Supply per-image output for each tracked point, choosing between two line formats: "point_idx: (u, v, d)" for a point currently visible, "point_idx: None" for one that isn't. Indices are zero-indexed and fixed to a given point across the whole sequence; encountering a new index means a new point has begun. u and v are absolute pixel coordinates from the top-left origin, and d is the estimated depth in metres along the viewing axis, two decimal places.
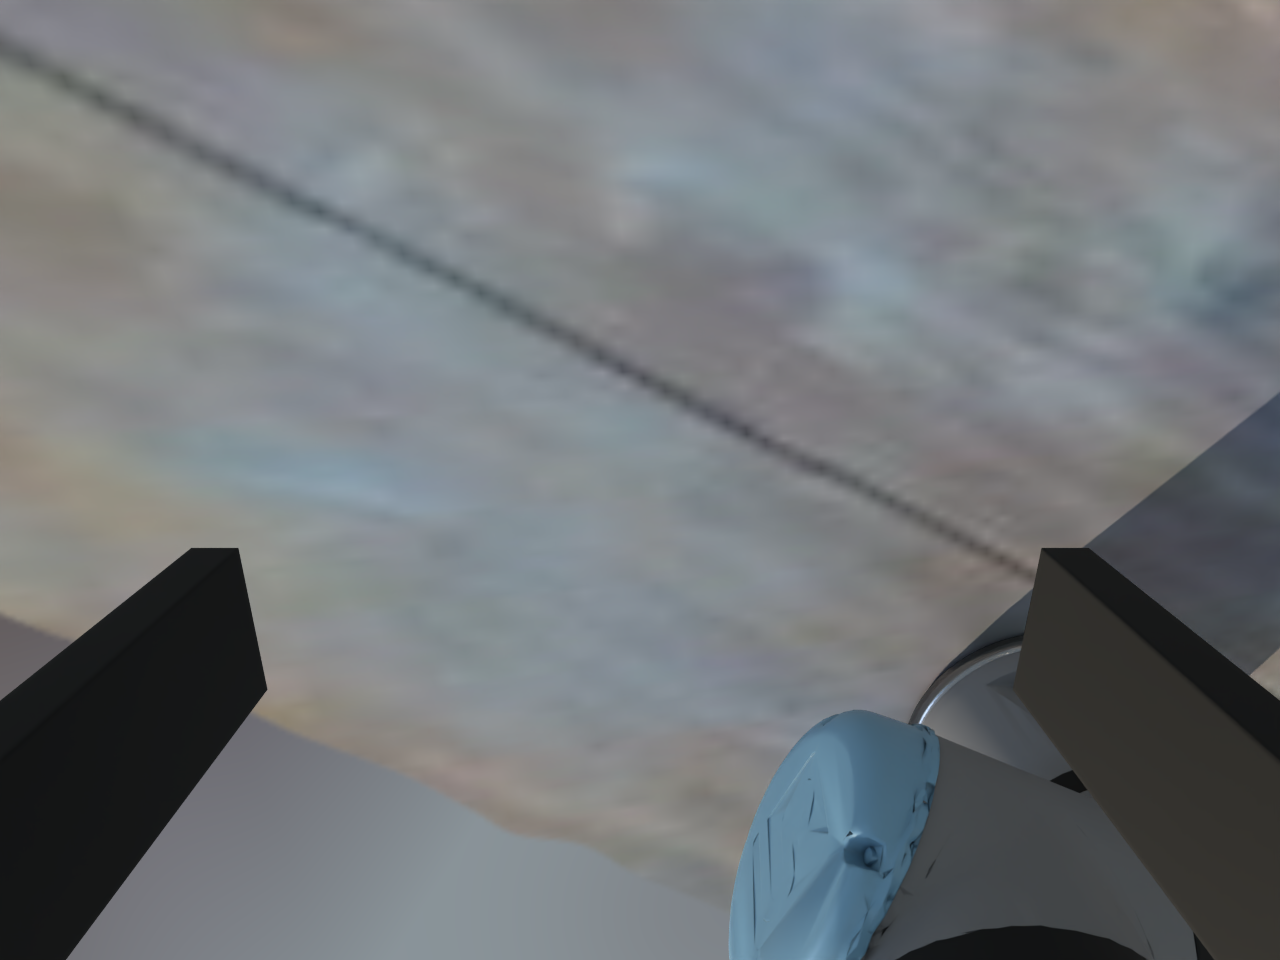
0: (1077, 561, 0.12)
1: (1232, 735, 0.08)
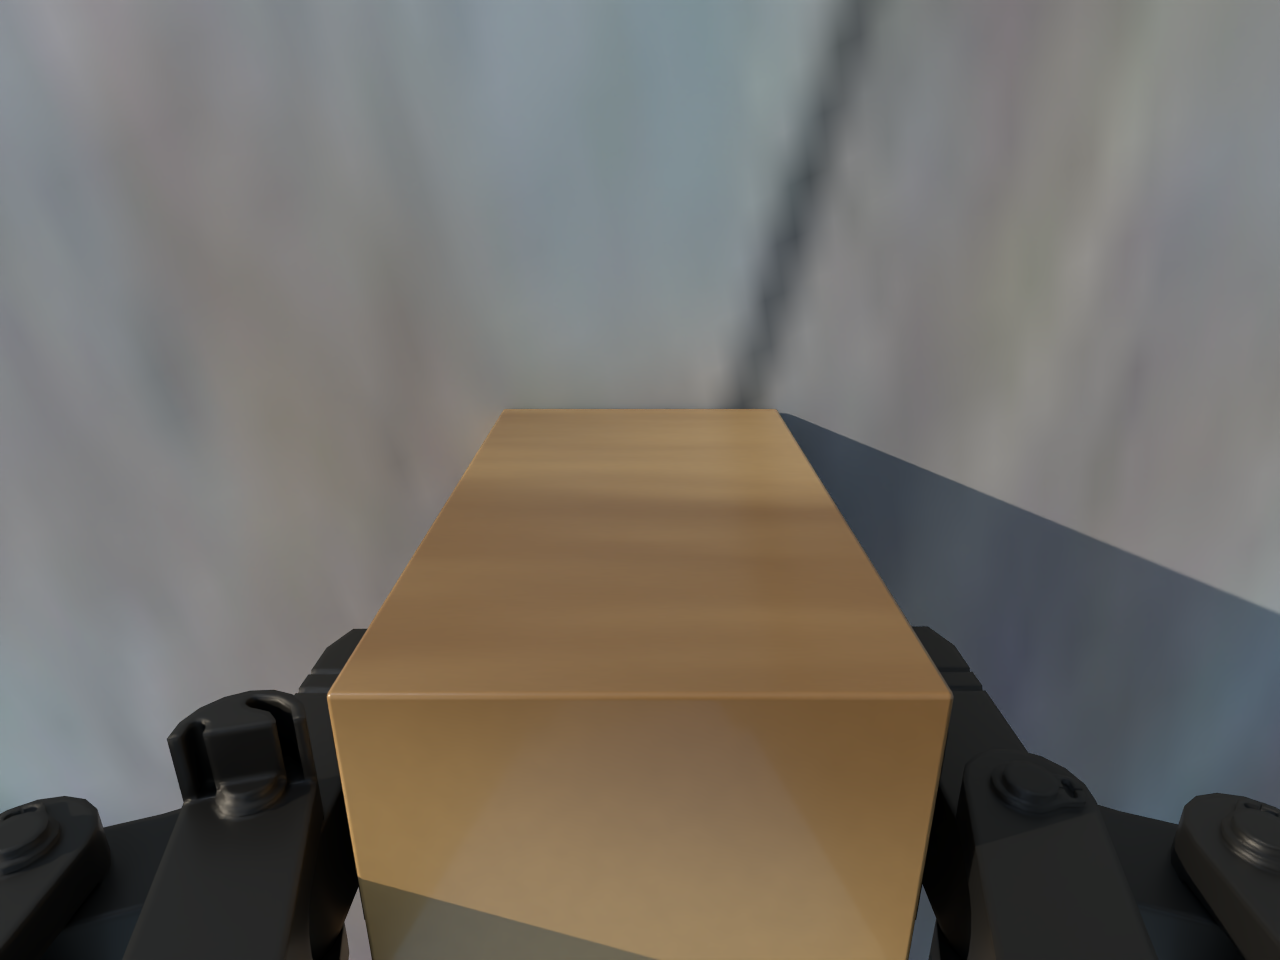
0: None
1: None
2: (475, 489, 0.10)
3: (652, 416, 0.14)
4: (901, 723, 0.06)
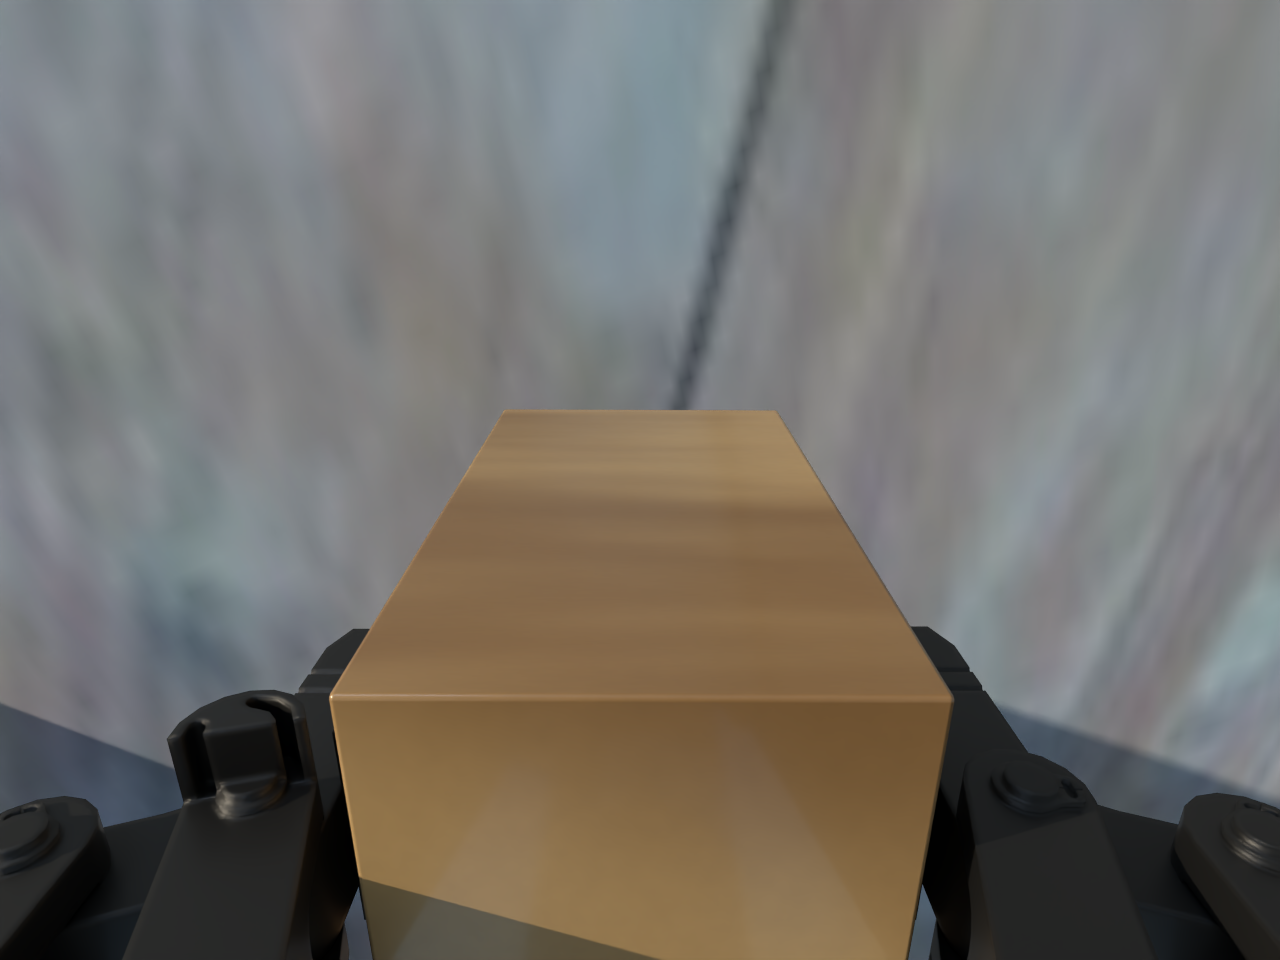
0: None
1: None
2: (476, 490, 0.10)
3: (653, 417, 0.14)
4: (902, 726, 0.06)
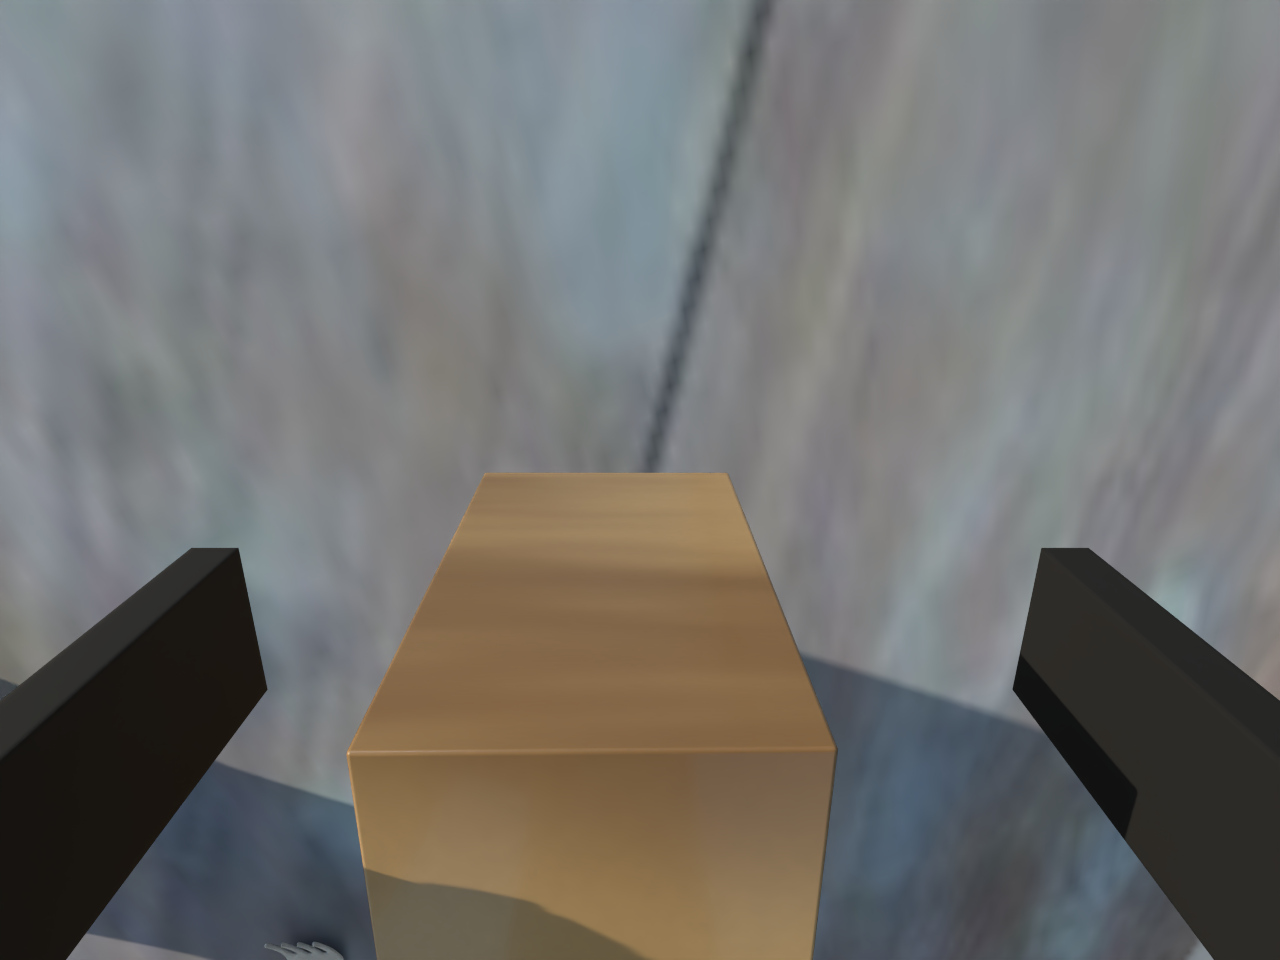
0: (1077, 561, 0.12)
1: (1232, 735, 0.08)
2: (461, 558, 0.12)
3: (617, 481, 0.15)
4: (796, 769, 0.08)
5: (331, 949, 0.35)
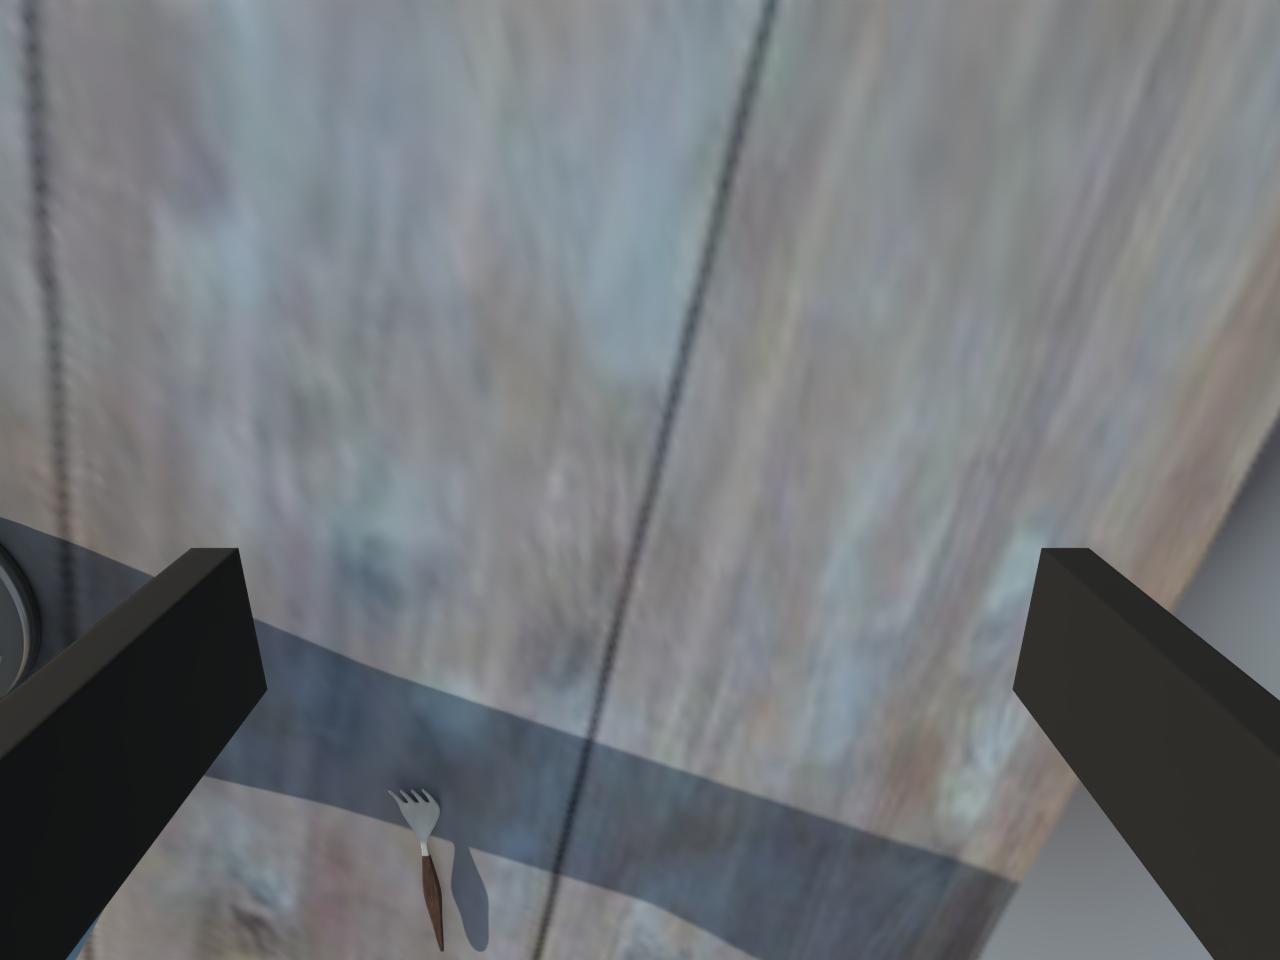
0: (1077, 561, 0.12)
1: (1232, 735, 0.08)
2: None
3: None
4: None
5: (432, 798, 0.50)
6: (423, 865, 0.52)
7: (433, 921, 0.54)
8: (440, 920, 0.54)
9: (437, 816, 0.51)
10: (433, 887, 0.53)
